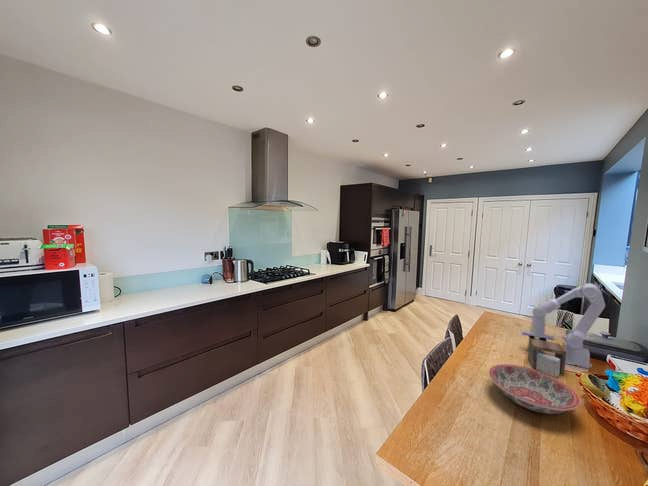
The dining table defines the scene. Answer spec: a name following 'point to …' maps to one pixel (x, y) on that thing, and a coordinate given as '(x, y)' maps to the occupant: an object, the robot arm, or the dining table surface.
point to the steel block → (536, 353)
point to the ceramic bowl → (534, 389)
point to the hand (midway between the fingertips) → (536, 349)
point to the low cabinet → (548, 347)
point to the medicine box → (548, 364)
